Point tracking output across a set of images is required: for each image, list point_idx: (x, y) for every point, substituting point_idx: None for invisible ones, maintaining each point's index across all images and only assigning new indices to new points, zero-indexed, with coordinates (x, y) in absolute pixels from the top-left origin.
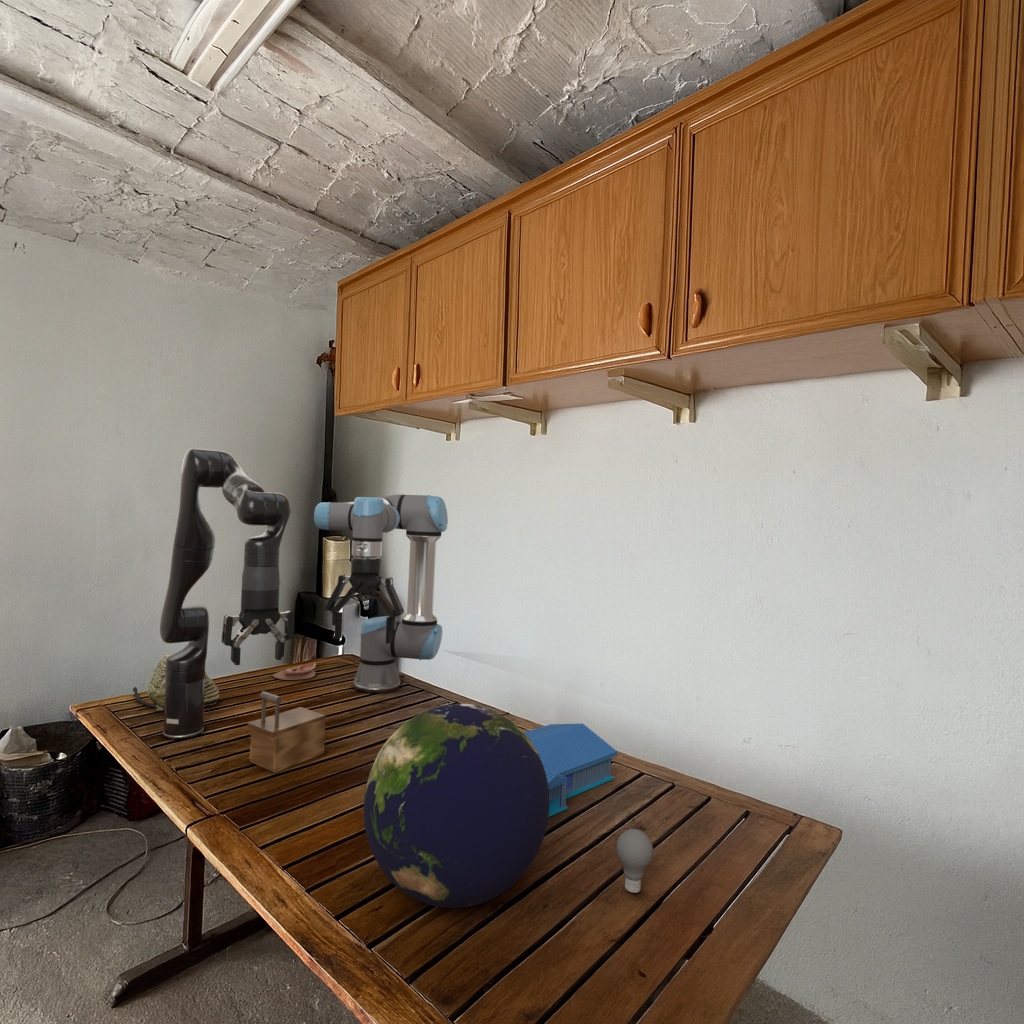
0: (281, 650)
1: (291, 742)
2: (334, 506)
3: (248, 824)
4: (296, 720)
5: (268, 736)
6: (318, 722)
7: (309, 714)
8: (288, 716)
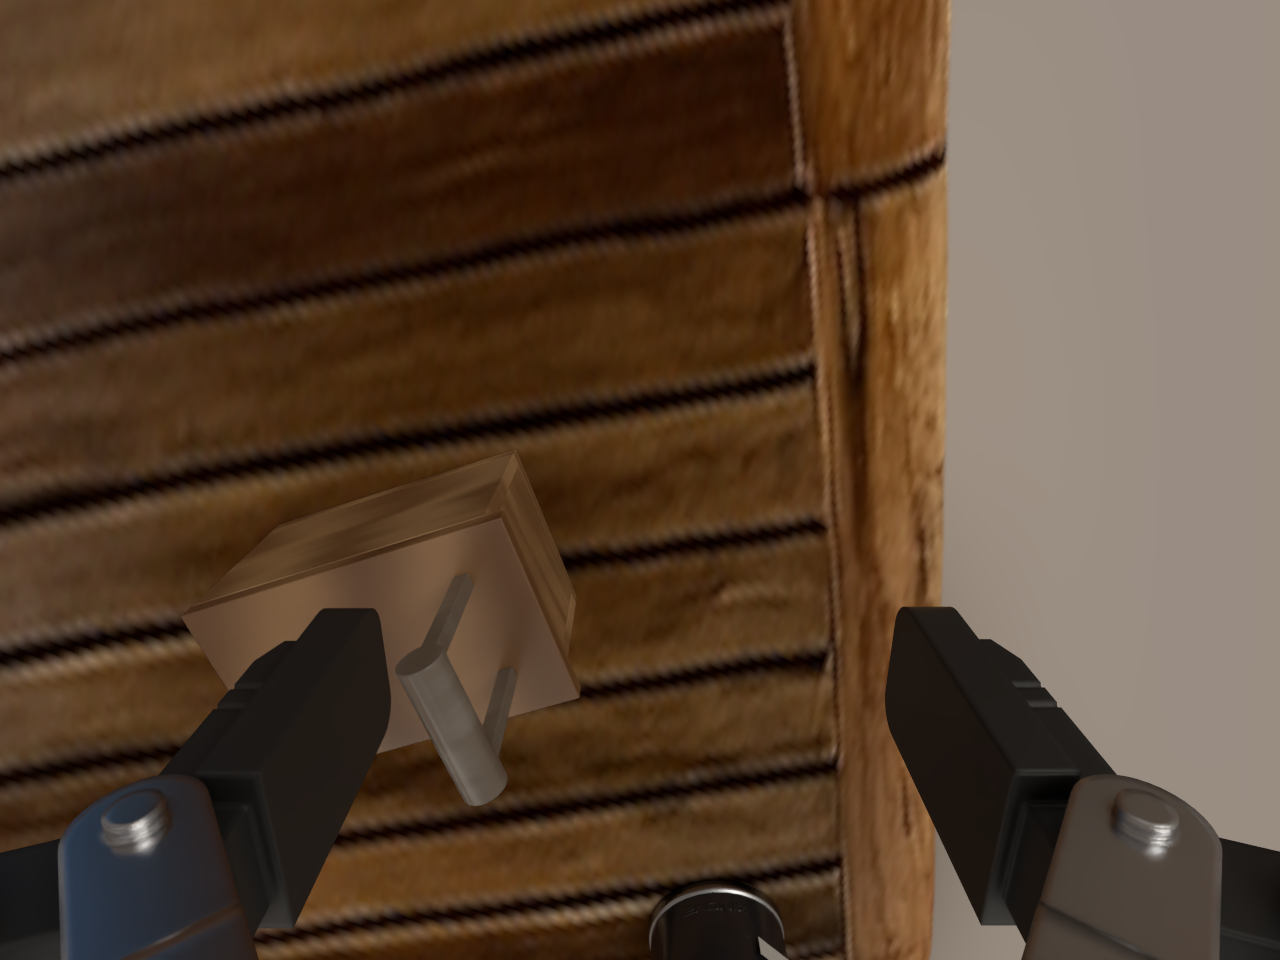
0: (267, 682)
1: (412, 515)
2: None
3: (748, 17)
4: None
5: None
6: (238, 588)
7: None
8: None
